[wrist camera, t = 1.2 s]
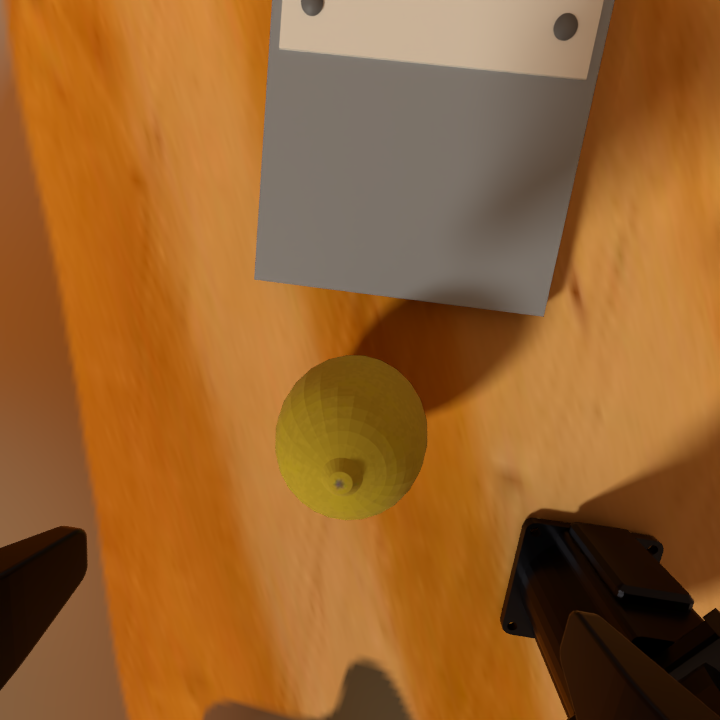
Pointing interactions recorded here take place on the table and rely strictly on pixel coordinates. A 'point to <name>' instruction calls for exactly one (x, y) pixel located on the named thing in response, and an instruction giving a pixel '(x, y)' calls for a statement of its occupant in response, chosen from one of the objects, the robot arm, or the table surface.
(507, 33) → the grey flat block
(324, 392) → the lemon
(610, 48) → the table surface
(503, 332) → the table surface
